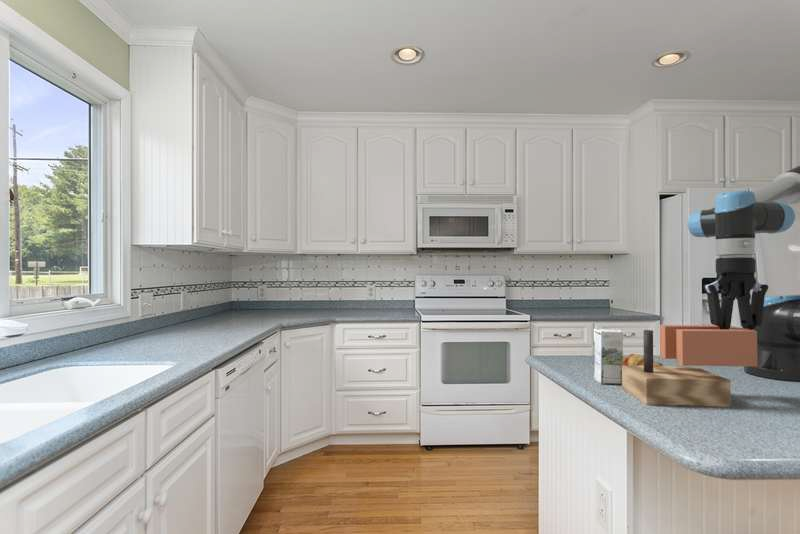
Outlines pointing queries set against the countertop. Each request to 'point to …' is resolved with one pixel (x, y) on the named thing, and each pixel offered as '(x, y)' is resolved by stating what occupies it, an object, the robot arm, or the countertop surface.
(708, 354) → the c link
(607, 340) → the syrup box
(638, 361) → the croissant
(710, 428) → the countertop surface
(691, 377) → the stand
